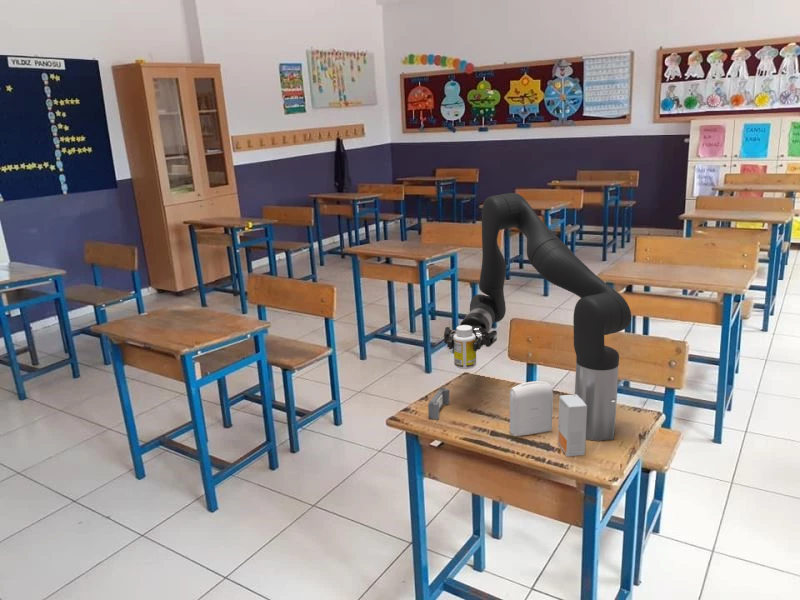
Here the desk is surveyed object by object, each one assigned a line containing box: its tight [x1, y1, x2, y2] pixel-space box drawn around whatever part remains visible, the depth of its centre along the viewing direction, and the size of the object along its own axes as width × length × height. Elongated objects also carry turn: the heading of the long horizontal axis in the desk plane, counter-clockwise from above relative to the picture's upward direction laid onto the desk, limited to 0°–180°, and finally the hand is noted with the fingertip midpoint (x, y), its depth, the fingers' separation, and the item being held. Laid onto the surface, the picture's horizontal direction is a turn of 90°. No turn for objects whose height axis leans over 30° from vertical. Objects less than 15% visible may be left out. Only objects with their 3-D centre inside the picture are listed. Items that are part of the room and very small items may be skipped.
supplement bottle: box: [453, 324, 477, 370], centre depth 157 cm, size 6×6×10 cm
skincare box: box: [557, 393, 587, 457], centre depth 138 cm, size 6×4×12 cm
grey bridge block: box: [427, 387, 450, 421], centre depth 160 cm, size 2×10×4 cm, turn 159°
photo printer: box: [509, 380, 554, 437], centre depth 147 cm, size 10×4×12 cm, turn 103°
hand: (462, 346), depth 154 cm, fingers closed on supplement bottle, 5 cm apart
